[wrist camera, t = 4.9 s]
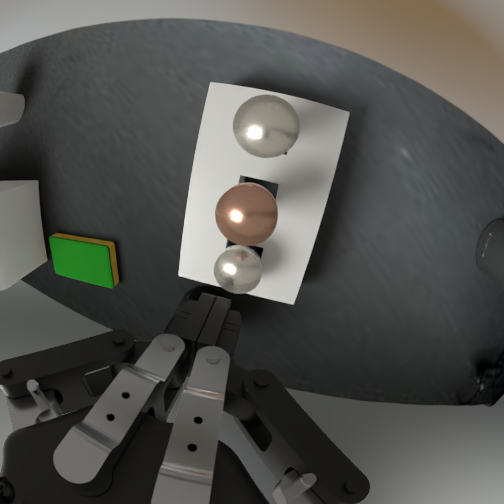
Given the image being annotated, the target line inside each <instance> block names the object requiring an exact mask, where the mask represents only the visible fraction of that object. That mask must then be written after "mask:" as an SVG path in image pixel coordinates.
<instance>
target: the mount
mask: <svg viewBox="0 0 504 504" xmlns="http://www.w3.org/2000/svg"><path fill="white" fill-rule="evenodd" d="M258 95H274V96H278V97H280V98H282V99H284V100H286V101H287V102H288V103H290V104H291V105H292V107H293V108H294V109H295V111H296V113H297V115H298V117H299V121H300V131H299V136H298V138H297V140H296V142H295V144H294V145H293V146H292V148H291V149H289V150H288V151H287V153H284V154H282V155H280V156H277V157H273V158H261V157H256V156H254V155H251V154H249V153H248V152H246V151H245V150H244V149H243V148H242V147H241V146H240V145H239V144H238V142H237V140H236V138H235V136H234V132H233V120H234V116H235V114H236V112H237V110H238V108H239V107H240V106H241V105H242V104H243V103H244V102H245V101H247V100H248V99H250V98H252V97H255V96H258ZM349 113H350V112H347V111H344V110H341V109H338V108H335V107H331V106H328V105H324V104H321V103H317V102H314V101H310V100H306V99H302V98H298V97H294V96H290V95H285V94H281V93H276V92H271V91H266V90H261V89H255V88H250V87H243V86H237V85H230V84H222V83H213V82H210V86H209V90H208V94H207V99H206V103H205V107H204V112H203V117H202V121H201V126H200V131H199V136H198V141H197V147H196V152H195V157H194V163H193V169H192V175H191V181H190V187H189V194H188V200H187V207H186V214H185V222H184V229H183V238H182V246H181V255H180V265H179V275H178V276H181V277H185V278H189V279H192V280H196V281H200V282H203V283H207V284H211V285H215V286H219V287H221V286H220V285H219V284H218V282H217V281H216V279H215V276H214V264H215V262H216V260H217V258H218V257H219V255H220V253H221V252H222V251H223V250H224V249H226V248H227V247H229V246H231V245H232V242H231V241H229V240H228V239H227V238H226V237H225V236H224V235H223V234H222V233H221V232H220V230H219V228H218V226H217V223H216V219H215V210H216V206H217V203H218V201H219V199H220V198H221V196H222V195H223V194H224V193H225V192H226V191H228V190H229V189H230V188H232V187H233V186H235V185H237V184H240V183H244V182H245V178H246V176H247V177H251V178H256V179H260V180H264V181H269V182H273V183H277V184H279V186H278V190H277V195H276V199H275V200H276V203H277V206H278V219H277V225H276V228H275V230H274V232H273V233H272V235H271V236H270V237H269V238H268V239H266V240H265V241H264V242H262V243H260V244H257V245H253V246H257V247H261V248H263V251H262V255H261V261H262V266H263V269H262V275H261V279H260V282H259V284H258V285H257V287H256V288H255V289H253V290H252V291H250V292H247V293H246V294H250V295H254V296H258V297H262V298H267V299H271V300H275V301H279V302H284V303H288V304H292V305H294V302H295V299H296V296H297V294H298V291H299V288H300V285H301V282H302V279H303V276H304V273H305V270H306V267H307V264H308V261H309V258H310V255H311V252H312V249H313V245H314V242H315V239H316V236H317V233H318V229H319V226H320V223H321V219H322V216H323V213H324V209H325V206H326V202H327V199H328V195H329V192H330V188H331V185H332V181H333V177H334V174H335V170H336V166H337V162H338V159H339V155H340V151H341V147H342V143H343V139H344V135H345V131H346V126H347V122H348V118H349Z"/></svg>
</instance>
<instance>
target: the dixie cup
mask: <svg viewBox="0 0 504 504" xmlns="http://www.w3.org/2000/svg"><path fill="white" fill-rule="evenodd" d="M24 107H25V99H24V96H23V95H21V94H15V93H8V92H1V91H0V127H2V126H6V125H10V124H13V123H17V122H18V121H19V120H20V119H21V117H22V115H23V112H24Z"/></svg>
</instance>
